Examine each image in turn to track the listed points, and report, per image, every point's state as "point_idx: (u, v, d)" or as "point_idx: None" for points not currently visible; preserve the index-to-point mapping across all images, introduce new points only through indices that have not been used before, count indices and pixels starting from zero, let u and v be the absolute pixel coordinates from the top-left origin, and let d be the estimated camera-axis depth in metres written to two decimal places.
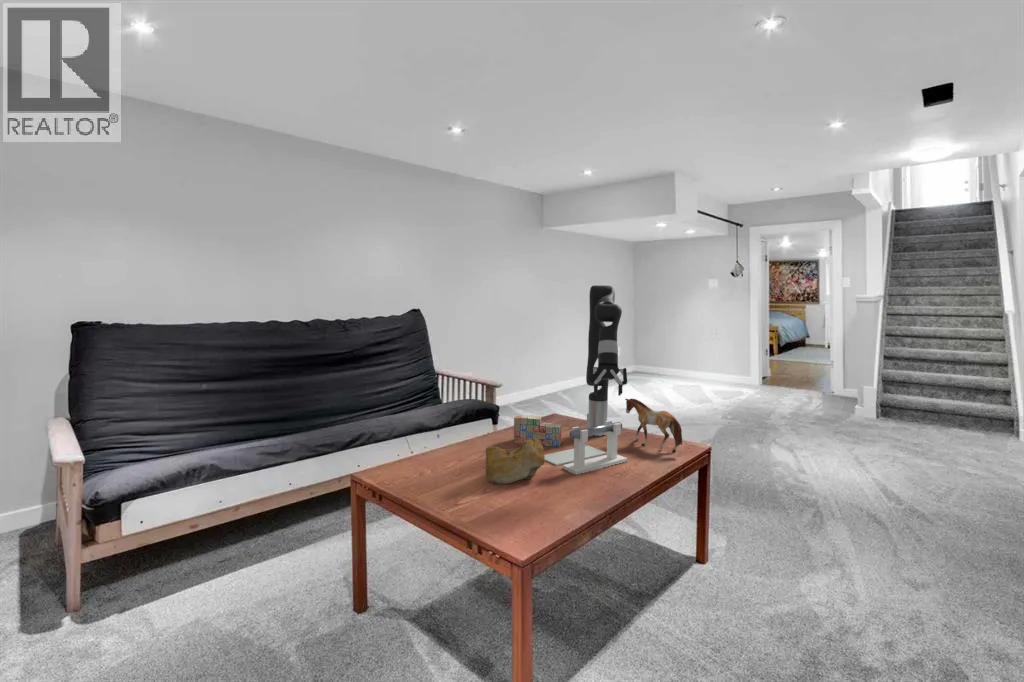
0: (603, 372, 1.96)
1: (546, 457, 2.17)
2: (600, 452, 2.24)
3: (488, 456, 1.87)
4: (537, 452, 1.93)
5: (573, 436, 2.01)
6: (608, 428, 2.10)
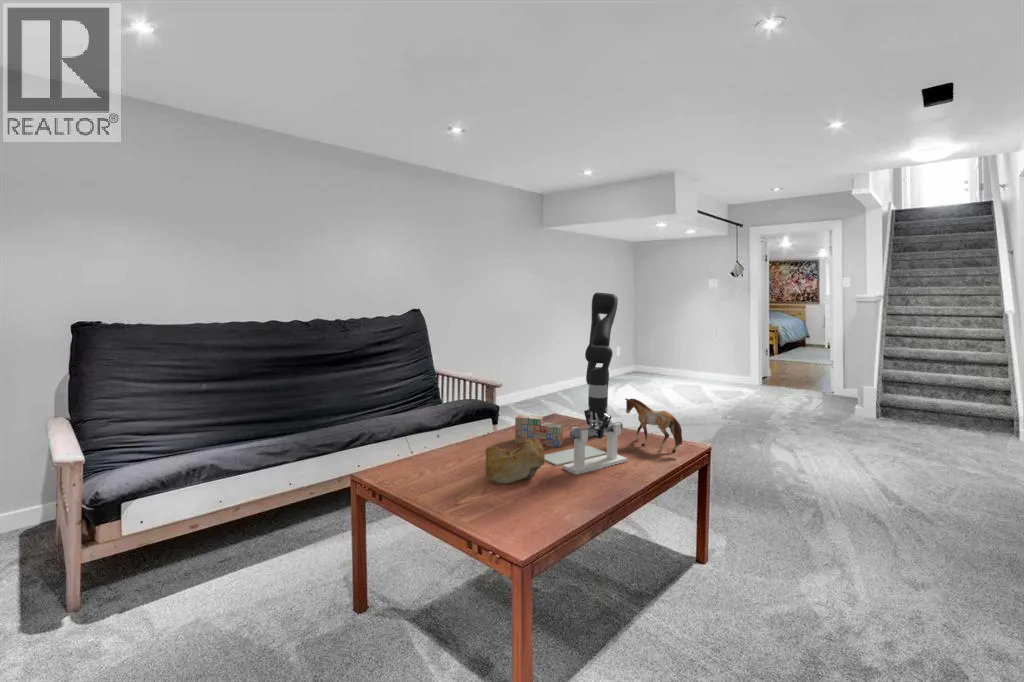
0: (591, 414, 2.08)
1: (546, 457, 2.17)
2: (600, 452, 2.24)
3: (488, 456, 1.87)
4: (537, 452, 1.93)
5: (573, 436, 2.01)
6: (608, 428, 2.10)
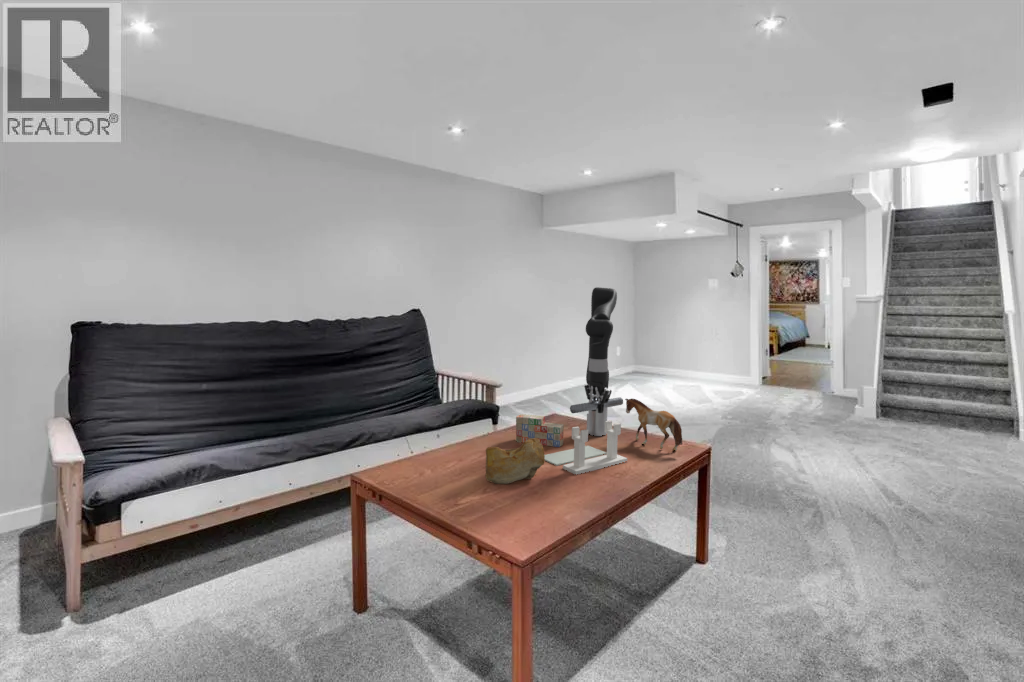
0: (591, 389, 2.07)
1: (546, 457, 2.17)
2: (600, 452, 2.24)
3: (488, 456, 1.87)
4: (537, 452, 1.93)
5: (573, 410, 2.00)
6: (609, 403, 2.09)
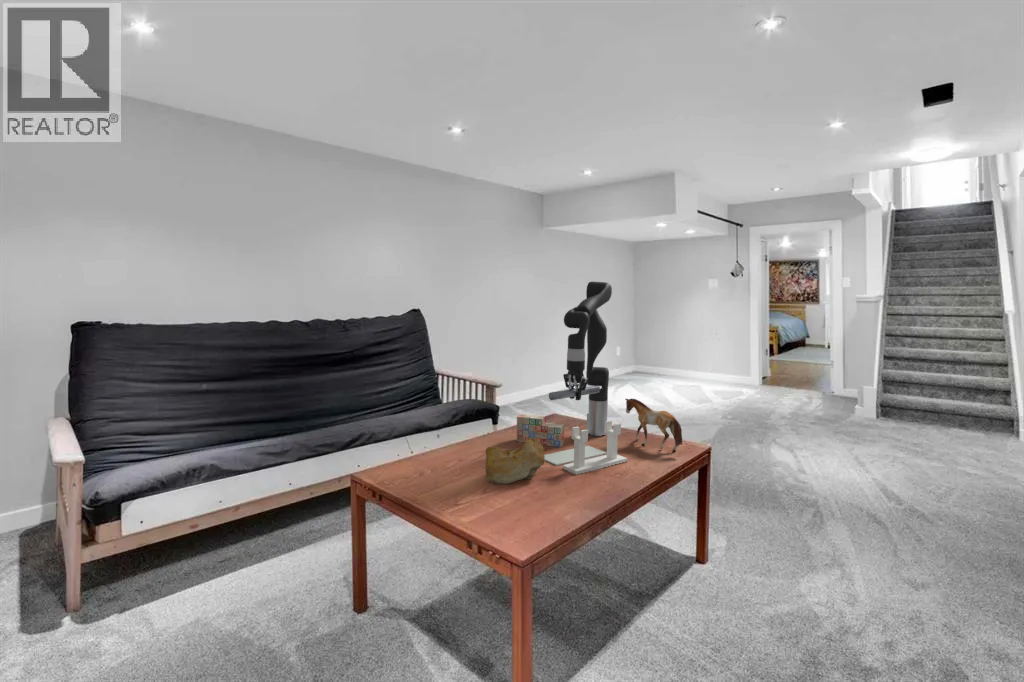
0: (569, 377, 2.18)
1: (546, 457, 2.17)
2: (600, 452, 2.24)
3: (488, 456, 1.87)
4: (537, 452, 1.93)
5: (552, 397, 2.11)
6: (586, 391, 2.20)
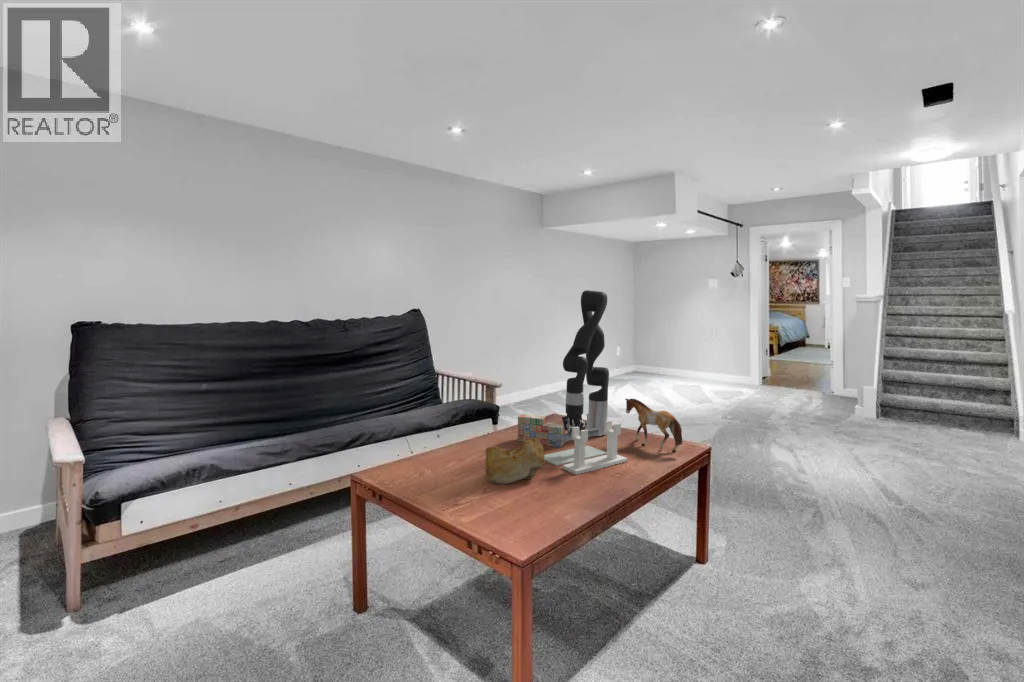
0: (568, 421, 2.20)
1: (546, 457, 2.17)
2: (600, 452, 2.24)
3: (488, 456, 1.87)
4: (537, 452, 1.93)
5: (550, 442, 2.13)
6: None
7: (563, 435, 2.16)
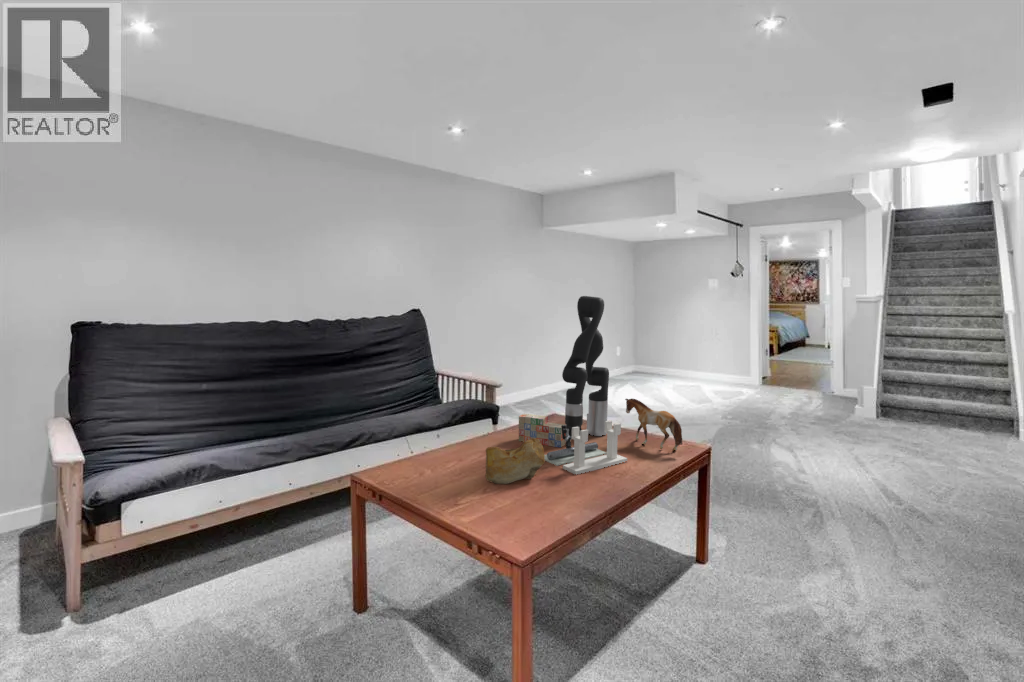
0: (567, 431, 2.21)
1: (546, 457, 2.17)
2: (600, 452, 2.24)
3: (488, 456, 1.87)
4: (537, 452, 1.93)
5: (550, 457, 2.14)
6: None
7: (562, 450, 2.17)
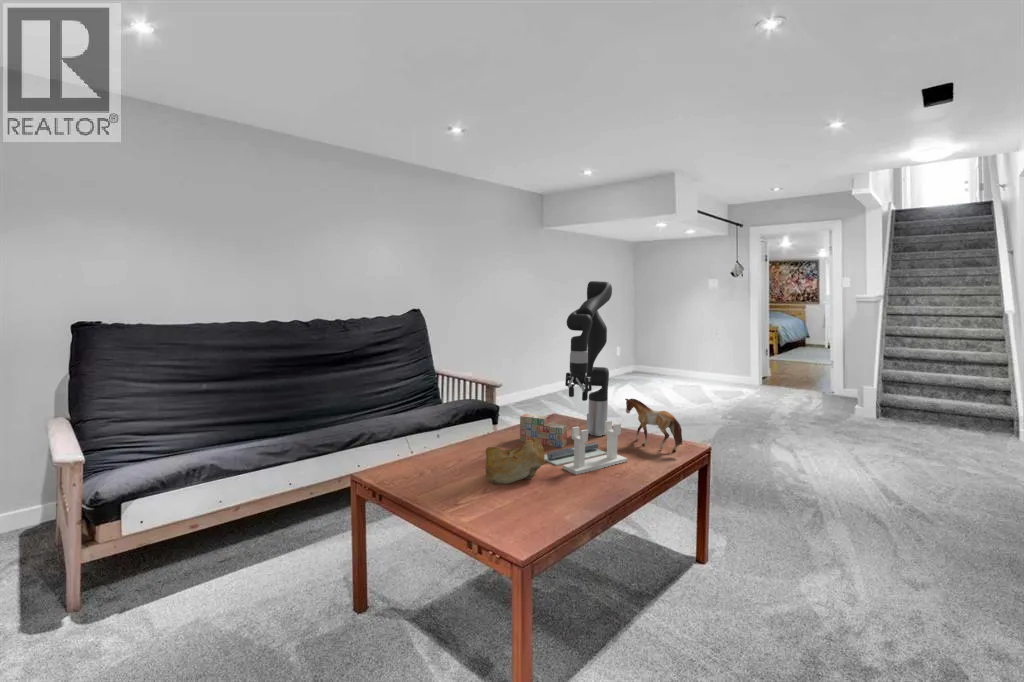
0: (572, 379, 2.20)
1: (546, 457, 2.17)
2: (600, 452, 2.24)
3: (488, 456, 1.87)
4: (537, 452, 1.93)
5: (550, 457, 2.14)
6: None
7: (563, 451, 2.17)
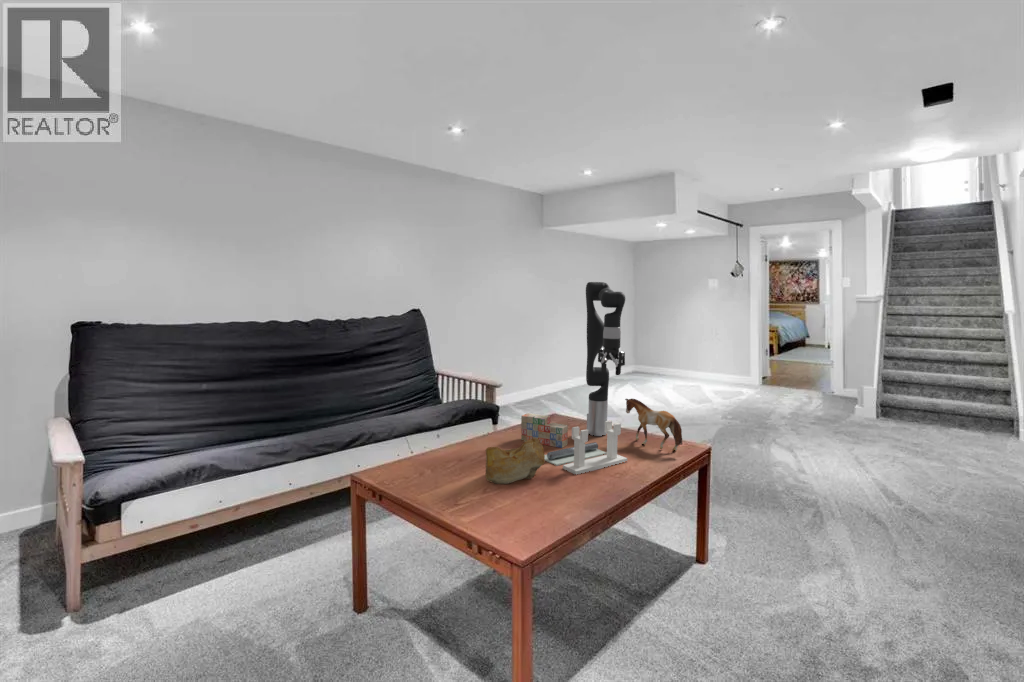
0: (605, 354, 2.28)
1: (546, 457, 2.17)
2: (600, 452, 2.24)
3: (488, 456, 1.87)
4: (537, 452, 1.93)
5: (550, 457, 2.14)
6: None
7: (563, 450, 2.17)
